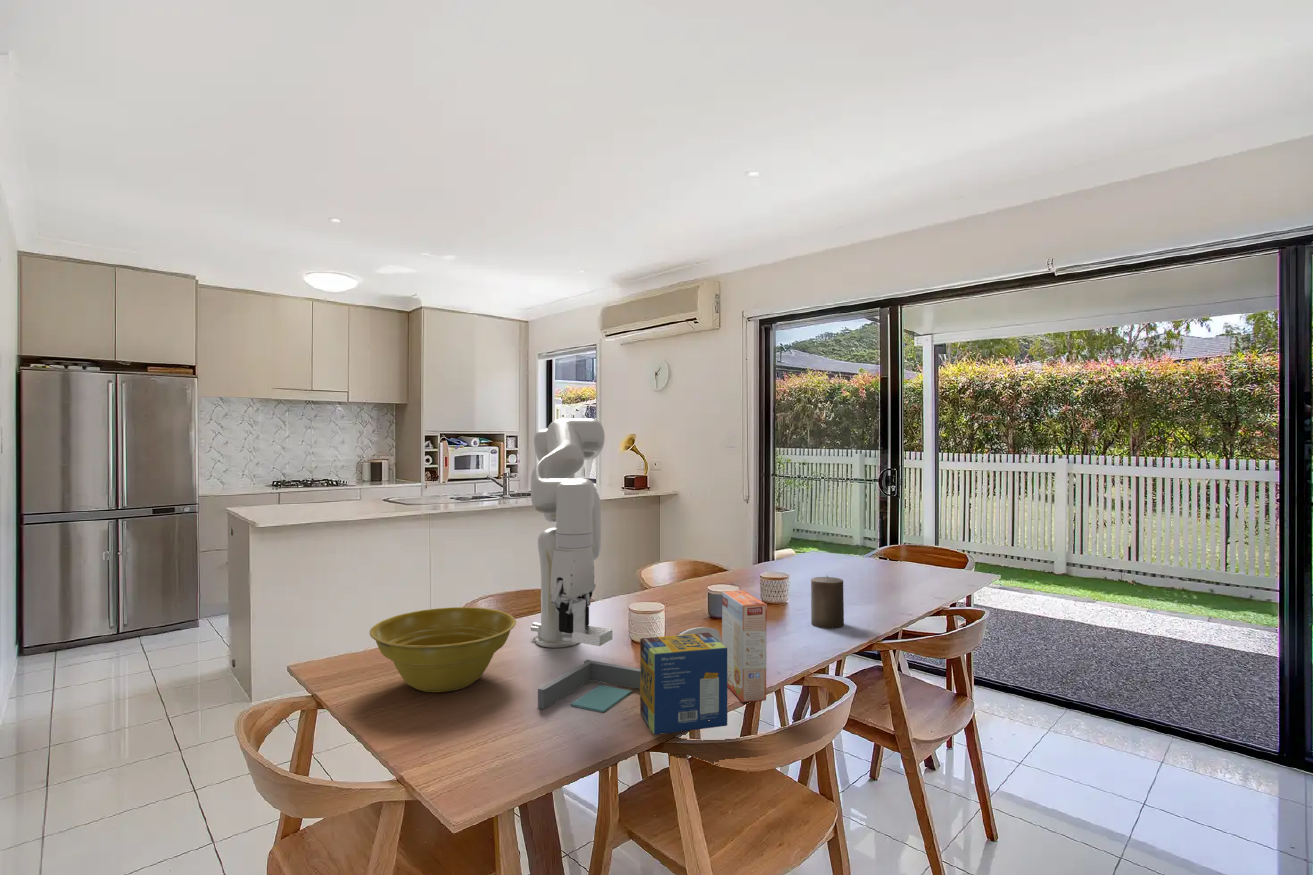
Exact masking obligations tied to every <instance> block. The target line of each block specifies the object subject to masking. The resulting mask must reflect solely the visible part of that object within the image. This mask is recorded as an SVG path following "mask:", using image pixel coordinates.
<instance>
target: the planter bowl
mask: <svg viewBox="0 0 1313 875" xmlns="http://www.w3.org/2000/svg"><path fill="white" fill-rule="evenodd" d="M516 623H517V620H516V618H515V617H514V616H513V615H511V614H510V613H507V612H504V611H501V610H498V609H497V610H496V609H491V608H484V607H470V606H469V607H467V606H465V607H464V606H463V607H462V606H461V607H460V606H459V607H458V606H457V607H441V608H440V607H439V608H431V609H423V610H416V611H411V612H406V613H402V614H399V615H394V616H392V617H389V618H386V619H383V620H381V621H379V622H378V623H376V624H375V625H373V626H372V627H371V628H370V630H369V636H370V638H372V639H373V640H374V641H375V642H376V645H377V647H378V649H379V652H380V653H381V654H382V656H383V657H385V658H387V659H389V660H390V661H391V662H392V663H393V664H394V666H395V668H396V670H397V673H399V675H400V676H401V678H402V679H403V681H404V682H405V683H406V684H407V685H408V686H411V687H412V688H413V689H416V690H417V691H422V692H426V693H427V692H428V693H444V692H445V693H446V692H453V691H456V690H457V691H458V690H460V689H464V688H467V687H468V686H470V685H472V684H473V683H475V681H477V680H478V679H480V678H481V677H482V675H483V674H484V673H485V671H486V669H487V668H488V666H489V664H490V663H491V661H492V658H493V656H494V655H495V653H496V652H497V651H498V650H500V649H501V648H502V647H503V646H504V645H505V644H506V642H507V640H508V638H509V636H510V634H511V630H513V629H514V628H515V626H516V625H517V624H516Z"/></svg>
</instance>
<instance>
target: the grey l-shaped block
mask: <svg viewBox="0 0 1313 875" xmlns="http://www.w3.org/2000/svg"><path fill="white" fill-rule="evenodd" d="M567 602H568V601H567ZM567 602H564V603H565V604H566V606H567ZM571 613H573V633H571V634H570V633H564V632H562V640H566V641H572V642H578V643H577V644H583V645H590V646H597V647H601V646H602V645H604V644H606V643H608V642H610V641H612V640H613V629H612V628H611V629H610V628H606V627H604V628H603V627H598V626H592V625H588V626H587V625H586V599H581V598H574V599H573V605H572V611H571Z"/></svg>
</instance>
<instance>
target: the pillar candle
mask: <svg viewBox="0 0 1313 875" xmlns="http://www.w3.org/2000/svg"><path fill="white" fill-rule="evenodd" d="M810 606H811V607H810V611H811V612H810V620H811V621H810V622H811V623H810V624H811V625H812V626H814V627H818V628H821V629H822V628H823V629H830V630H831V629H839V628H843V627H844V626H845V616H844V615H845V613H844V612H845V610H844V608H845V607H844V606H845V604H844V580H843V578H839V577H835V576H834V577H833V576H832V577H831V576H828V575H826V576H816V577H812V578H810Z"/></svg>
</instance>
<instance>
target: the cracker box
mask: <svg viewBox="0 0 1313 875" xmlns="http://www.w3.org/2000/svg"><path fill="white" fill-rule="evenodd" d="M721 597H722V598H721V599H722V600H721V601H722V604H721V605H722V606H721V610H722V611H721V612H722V614H721V618H722V619H721V620H722V621H721V625H722V626H721V632H722V633H721V634H722V636H721V640H722V644H723V645H724V646H725V647H727V688H729V690H730V691H731V692H732V693H733V694H734V695H735V696H736V697H737V699H738V700H740V701H741V703H749V702H750V703H752V702H765V701H767V629H768V628H767V625H768V622H767V621H768V620H767V619H768V618H767V614H768V613H767V612H768V611H767V610H768V609H767V608H768V607H767V606H768V605H767V603H765V602H764V601H762V600H760V599H758V598H757V597H755V596H754V595H751V593H749V592H747V591H746V590H729V591H722V596H721Z"/></svg>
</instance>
